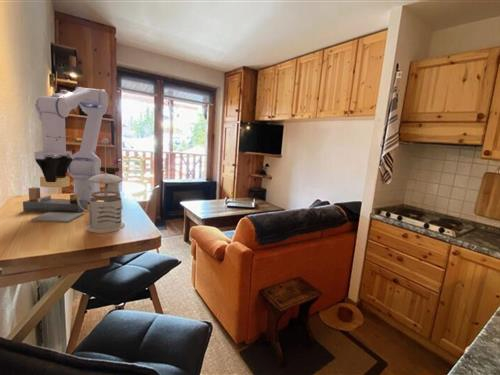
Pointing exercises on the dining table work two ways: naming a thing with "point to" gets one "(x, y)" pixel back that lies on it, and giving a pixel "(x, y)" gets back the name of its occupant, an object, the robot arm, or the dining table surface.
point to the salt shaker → (115, 188)
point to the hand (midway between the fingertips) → (55, 180)
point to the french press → (104, 204)
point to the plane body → (52, 203)
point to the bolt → (109, 170)
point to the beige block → (56, 182)
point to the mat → (57, 217)
